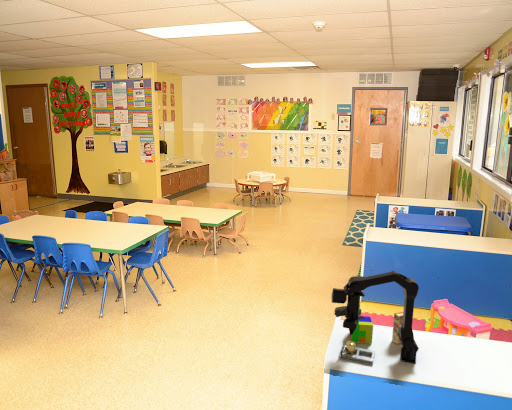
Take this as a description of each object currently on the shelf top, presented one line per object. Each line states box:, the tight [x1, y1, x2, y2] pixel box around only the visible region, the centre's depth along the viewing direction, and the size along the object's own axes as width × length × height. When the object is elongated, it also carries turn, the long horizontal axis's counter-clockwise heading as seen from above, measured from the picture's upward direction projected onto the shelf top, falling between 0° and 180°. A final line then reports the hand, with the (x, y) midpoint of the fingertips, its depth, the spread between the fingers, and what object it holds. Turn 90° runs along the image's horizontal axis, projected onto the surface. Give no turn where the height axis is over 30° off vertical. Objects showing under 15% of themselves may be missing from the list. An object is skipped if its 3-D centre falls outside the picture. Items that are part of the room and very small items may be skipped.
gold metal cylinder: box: [345, 340, 356, 356], centre depth 206 cm, size 4×4×6 cm
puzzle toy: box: [349, 315, 374, 344], centre depth 222 cm, size 10×10×10 cm
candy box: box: [391, 311, 404, 345], centre depth 219 cm, size 9×4×15 cm, turn 112°
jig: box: [339, 340, 376, 366], centre depth 205 cm, size 15×10×4 cm, turn 69°
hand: (351, 334), depth 204 cm, fingers closed
